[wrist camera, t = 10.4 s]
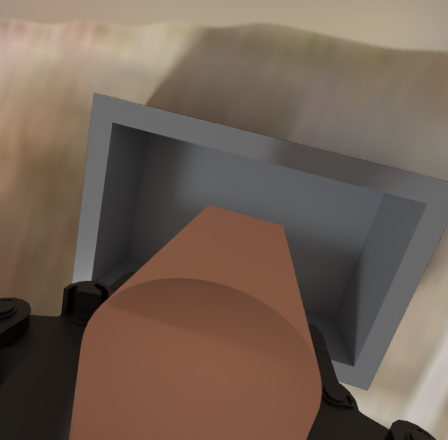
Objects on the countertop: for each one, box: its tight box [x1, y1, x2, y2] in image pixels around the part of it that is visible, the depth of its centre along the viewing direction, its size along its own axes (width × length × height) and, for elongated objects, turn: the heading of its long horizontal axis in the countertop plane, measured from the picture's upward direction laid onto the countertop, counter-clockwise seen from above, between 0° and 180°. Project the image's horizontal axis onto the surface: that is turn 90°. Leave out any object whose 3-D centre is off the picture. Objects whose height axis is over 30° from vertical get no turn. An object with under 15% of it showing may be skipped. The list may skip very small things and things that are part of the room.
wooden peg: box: [69, 205, 322, 440], centre depth 10 cm, size 4×6×12 cm, turn 167°
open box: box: [72, 93, 448, 390], centre depth 22 cm, size 23×15×7 cm, turn 77°
